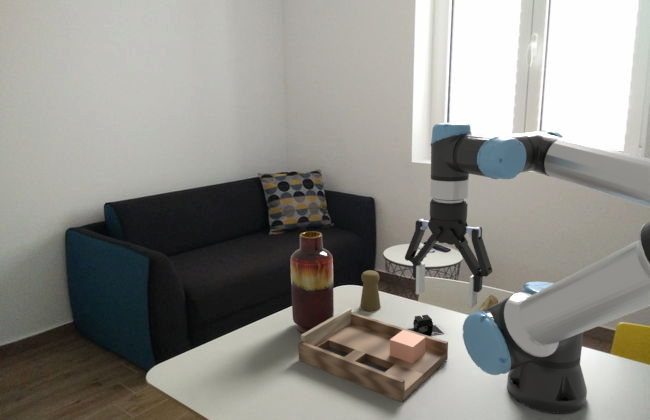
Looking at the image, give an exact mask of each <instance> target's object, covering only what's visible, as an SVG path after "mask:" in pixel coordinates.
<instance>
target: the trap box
mask: <svg viewBox="0 0 650 420" xmlns="http://www.w3.org/2000/svg"><path fill="white" fill-rule="evenodd" d="M408 329H409V328H404V327H401V326H398V325H394V324H392V323H388V322H385V321H382V320H378V319H375V318H371V317H368V316H365V315H363V314H358V313H355V312H352V308H351V307H347V308H346V309H344V310H342V311H340V312H339V313H337V314H334V316H333V317H332V318H330V319H328V320H326V321H325V322H323V323H321V324H319V325H318V326H316V327H314V328H312V329H310V330H309V331H307V332H305V333H303V334H302V333H301V335H300V340H299V341H298V342H297V344H298V347H297V349H298V361H301V362H304V363H306V364H308V365H311V366H313V367H316V368H318V369H320V370H323V371H325V372H328V373H330V374H333V375H335V376H338V377H339V378H342V379H344V380H347V381H349V382H352V383H355V384H357V385H358V386H362V387H364V388H367V389H369V390H372V391H374V392H377V393H378V394H381V395H384V396H386V397H388V398H391V399H393V400H396V401H398V402H400V403H403V402H404V400H406V399H407V398H408V397H409V396H410V395H411V394H413V392H414V391H416V390H417V388H419V387H420V386H421V385H422V384H423V383H424V382H425V381H426V380H427V379H428V378H430V377H431V376H432V375H433V374H434V373H435V372H436V371H437V370H438V369H440V367H441V366H442V365H444V364H445V362H447V360H449V359H448V357H449V356H448V355H449V352H448V351H449V341H446V340H443V339H440V338H436V337H434V336H427V335H424V334H421V333H417V332H414V331H411V330H408ZM402 330H405V331H408V332H411V333H415V334H418V335H421V336H424V337H426V345H425V353H424V354H423V355H422V356H421V357H420V358H418V359H417V360H416V361H415V362H414V363H410V362H407V361H404V360H401V359H399V358H396V357H393V356H390V339H391V338H393V337H394V336H395V335H397V334H398V333H400V332H401V331H402Z"/></svg>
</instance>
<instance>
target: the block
mask: <svg viewBox="0 0 650 420" xmlns="http://www.w3.org/2000/svg"><path fill="white" fill-rule="evenodd" d="M425 345H426V337H424V336H421V335H418V334H415V333H411V332H408V331H405V330H402V331H401V332H400V333H398V334H397V335H395V336H394V337H393V338H391V339H390V356H393V357H396V358H399V359H401V360H404V361H407V362H410V363H414V362H415V361H416V360H417V359H418V358H420V357H421V356H422V355H423V354H424V353H425Z"/></svg>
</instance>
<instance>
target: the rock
mask: <svg viewBox="0 0 650 420" xmlns="http://www.w3.org/2000/svg"><path fill="white" fill-rule="evenodd" d="M497 303H499V299H498V298H497V297H496V296H494V295H492V294H490V295H489V296H488V297H487V298H486V299H485V300H484V301H483V302H482V304H481V305H480V306H479V309H478V310H483V309H486V308H489V307H491V306H493V305H495V304H497Z"/></svg>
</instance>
